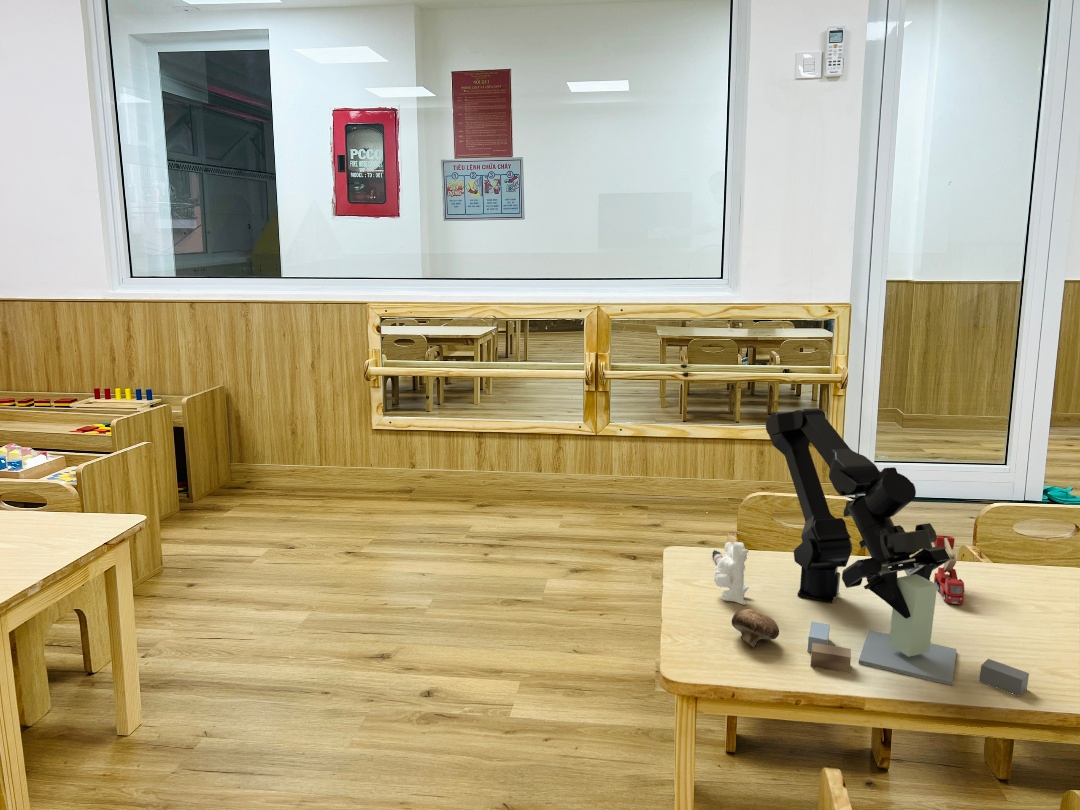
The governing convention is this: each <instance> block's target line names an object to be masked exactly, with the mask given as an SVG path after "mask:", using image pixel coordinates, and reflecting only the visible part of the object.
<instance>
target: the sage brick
mask: <svg viewBox="0 0 1080 810" xmlns="http://www.w3.org/2000/svg"><path fill="white" fill-rule="evenodd" d="M897 585H898V587H899V589H900V591H901V593H902V596H903V598H904V600H905V602H906V604H907V607H908V609H909V612H910V615H911V616H910V617H909V618H904V617H903V616H902V615H901V614H899V613H898V612H897V611H896V610H895V609H894V608H892V610H891V620H890V628H889V629H890V630H889V634H890V637H889V645H891V646H892V647H894V648H895V649H897V650H899V651H900V652H902V653H903V654H905V655H907V656H908V657H910V656H914V655H919V654H923V653H927V652H929V650H930V643H931V642H932V641H931V640H932V632H933V623H934V615H935V607H936V600H937V592H938V591H937V584H935V583H934V581H931V580H930V581H929V580H927V579H925V578H923V577H921V576H919V575H917V574H914V575H909V576H907V575H904V576H899V577H898V576H897Z"/></svg>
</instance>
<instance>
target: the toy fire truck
mask: <svg viewBox="0 0 1080 810" xmlns="http://www.w3.org/2000/svg"><path fill="white" fill-rule="evenodd" d="M936 535H937V534H936ZM955 540H956V539H955V538H954V537H953V536H950V535H939V534H938V535H937V540H936V542H932V543H933V545H934V547H937V546H940V547H942V548H944V549H945V550H946V552H947V554H948V556H949V558H950V560H949V561H947V562H946V563H944V564H943V565H942V566H943V567H940V566H939V567H938V569H937V572H935V573H934V575H933V576H934V577H933V583H935V584H937V592H939V593H940V594H941V595H940V596H941V597H942V600H943V602H945V603H948V604H953V605H963V604H964V598H965V597H964V595H965V582H964V580H963V579H961V578H959V579H958V574H957V570H956V569H955V568H954V567H955V565H956V564H957V555H956V553H954V552H953V550H954V545H955ZM948 573H949V574H948Z"/></svg>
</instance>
